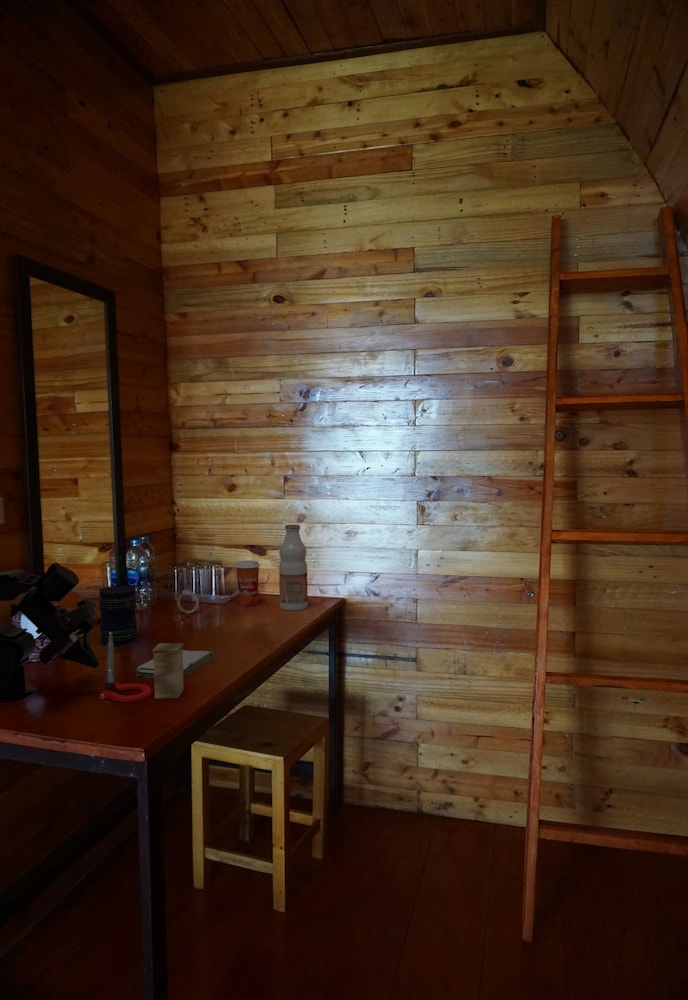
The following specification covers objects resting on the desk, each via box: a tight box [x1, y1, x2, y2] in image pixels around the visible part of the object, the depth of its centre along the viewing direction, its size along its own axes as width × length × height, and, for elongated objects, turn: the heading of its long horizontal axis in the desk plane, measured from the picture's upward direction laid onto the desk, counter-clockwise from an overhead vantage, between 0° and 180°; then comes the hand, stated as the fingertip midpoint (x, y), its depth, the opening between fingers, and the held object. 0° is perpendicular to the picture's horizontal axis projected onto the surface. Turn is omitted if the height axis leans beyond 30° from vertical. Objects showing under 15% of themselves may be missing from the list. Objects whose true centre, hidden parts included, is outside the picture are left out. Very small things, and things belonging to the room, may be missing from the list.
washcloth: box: [135, 649, 214, 680], centre depth 168 cm, size 12×18×3 cm, turn 164°
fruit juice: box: [278, 524, 309, 612], centre depth 229 cm, size 9×9×28 cm
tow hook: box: [98, 632, 152, 703], centre depth 149 cm, size 9×14×10 cm
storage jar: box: [98, 577, 138, 648], centre depth 190 cm, size 10×10×18 cm
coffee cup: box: [235, 559, 261, 608], centre depth 234 cm, size 8×8×15 cm
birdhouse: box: [151, 642, 184, 699], centre depth 151 cm, size 5×9×11 cm, turn 0°
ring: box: [176, 588, 200, 614], centre depth 223 cm, size 7×3×8 cm, turn 83°
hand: (97, 666), depth 149 cm, fingers closed
